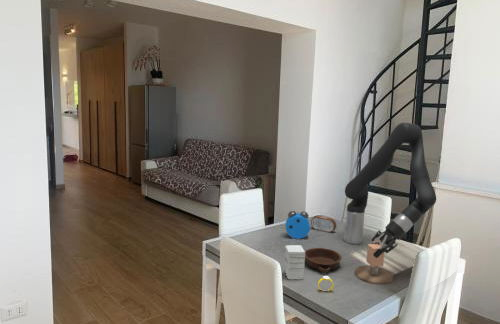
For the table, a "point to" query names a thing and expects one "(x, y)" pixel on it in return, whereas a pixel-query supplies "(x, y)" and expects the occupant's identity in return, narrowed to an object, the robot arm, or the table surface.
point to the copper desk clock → (323, 223)
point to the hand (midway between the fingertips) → (371, 253)
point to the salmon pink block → (371, 258)
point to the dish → (322, 259)
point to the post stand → (373, 274)
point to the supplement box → (294, 261)
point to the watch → (326, 280)
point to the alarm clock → (297, 224)
